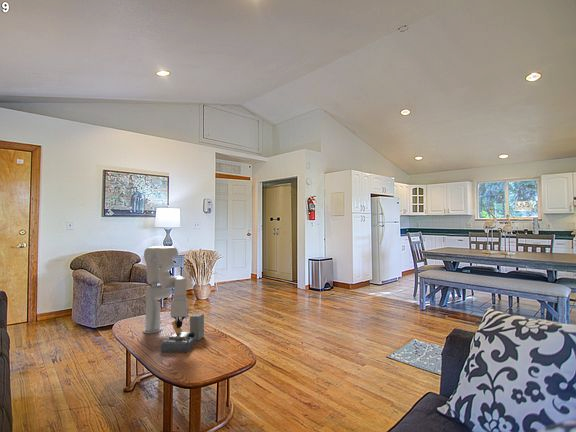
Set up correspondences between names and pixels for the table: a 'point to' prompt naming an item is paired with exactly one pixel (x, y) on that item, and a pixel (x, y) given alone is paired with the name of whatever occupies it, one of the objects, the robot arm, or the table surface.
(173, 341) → the breaker box
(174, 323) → the breaker lever
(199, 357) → the table surface
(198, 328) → the skincare box
